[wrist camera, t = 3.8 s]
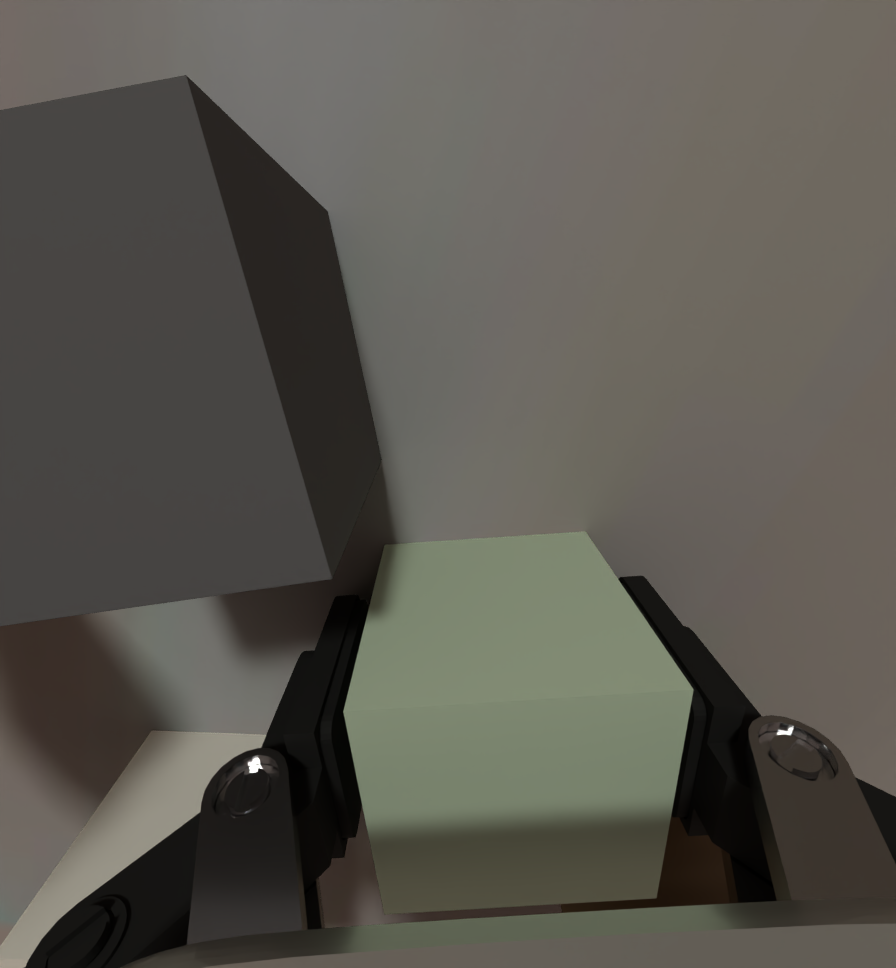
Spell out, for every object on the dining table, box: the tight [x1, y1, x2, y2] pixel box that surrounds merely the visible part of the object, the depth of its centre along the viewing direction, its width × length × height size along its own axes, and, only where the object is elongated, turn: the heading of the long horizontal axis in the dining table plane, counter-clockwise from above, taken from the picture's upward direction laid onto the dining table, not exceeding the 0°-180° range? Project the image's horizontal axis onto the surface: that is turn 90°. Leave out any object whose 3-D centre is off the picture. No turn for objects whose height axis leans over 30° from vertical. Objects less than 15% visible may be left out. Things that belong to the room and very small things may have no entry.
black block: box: [0, 75, 382, 626], centre depth 7 cm, size 5×5×5 cm
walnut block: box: [561, 816, 730, 913], centre depth 12 cm, size 5×5×5 cm
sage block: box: [343, 532, 694, 915], centre depth 9 cm, size 5×5×5 cm
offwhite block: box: [0, 730, 266, 968], centre depth 12 cm, size 5×5×5 cm
